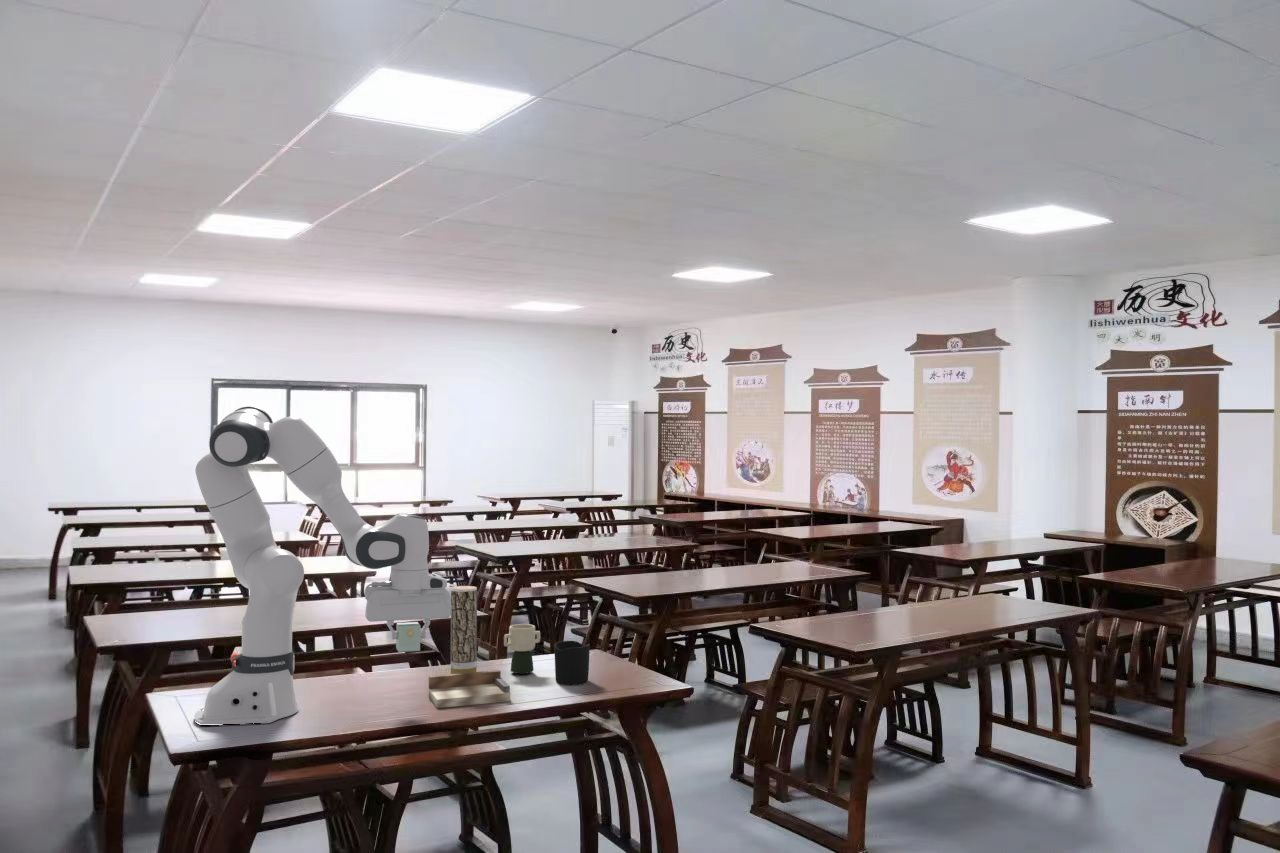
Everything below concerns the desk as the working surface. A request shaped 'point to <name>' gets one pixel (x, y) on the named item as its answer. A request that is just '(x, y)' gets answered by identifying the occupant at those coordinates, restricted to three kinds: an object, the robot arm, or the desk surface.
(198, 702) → the desk surface
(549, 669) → the desk surface
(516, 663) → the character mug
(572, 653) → the pen holder
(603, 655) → the desk surface
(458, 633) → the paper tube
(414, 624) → the mint green box
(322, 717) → the desk surface
